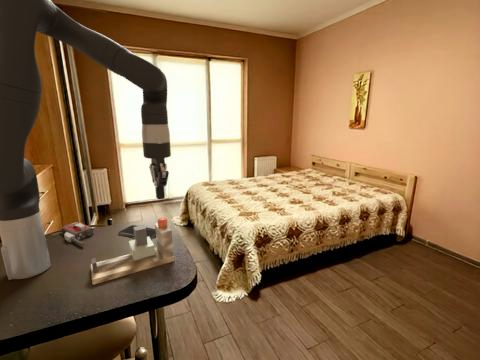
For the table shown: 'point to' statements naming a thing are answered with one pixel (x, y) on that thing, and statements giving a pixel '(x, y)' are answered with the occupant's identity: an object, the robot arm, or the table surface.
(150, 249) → the block
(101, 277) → the rail base
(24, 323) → the table surface
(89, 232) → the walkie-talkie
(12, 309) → the table surface
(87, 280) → the table surface
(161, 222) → the button
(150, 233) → the phone
